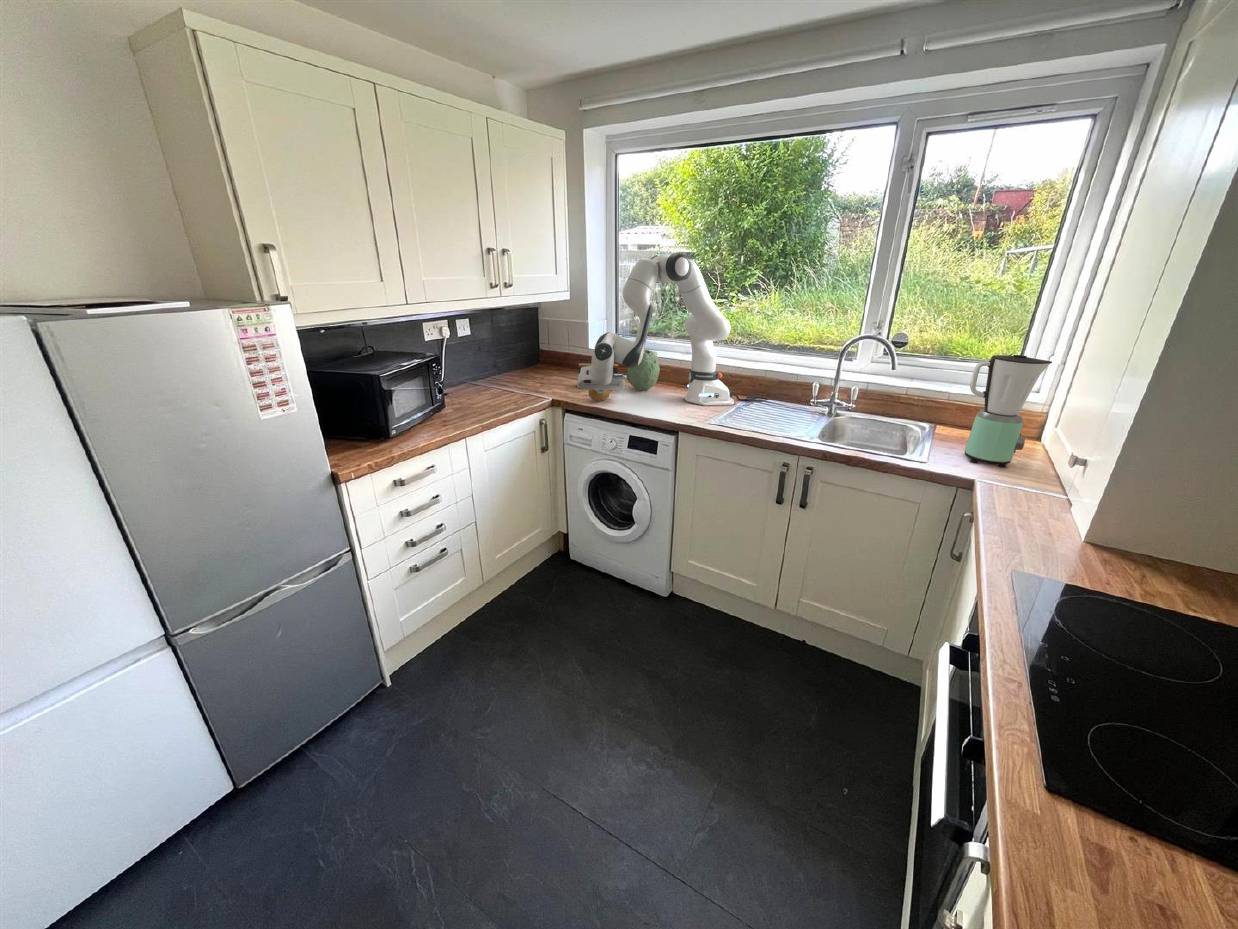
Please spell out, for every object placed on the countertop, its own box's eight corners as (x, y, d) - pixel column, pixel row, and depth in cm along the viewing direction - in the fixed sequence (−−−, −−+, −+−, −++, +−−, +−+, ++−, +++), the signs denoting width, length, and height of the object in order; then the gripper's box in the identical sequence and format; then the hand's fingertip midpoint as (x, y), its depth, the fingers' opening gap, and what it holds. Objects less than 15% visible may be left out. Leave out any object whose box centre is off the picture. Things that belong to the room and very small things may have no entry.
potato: (614, 398, 231) (614, 380, 228) (605, 405, 219) (606, 387, 216) (594, 396, 234) (594, 379, 231) (584, 403, 221) (584, 385, 218)
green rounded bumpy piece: (620, 391, 244) (621, 350, 237) (635, 384, 260) (637, 345, 253) (649, 395, 238) (652, 353, 231) (663, 388, 254) (666, 348, 247)
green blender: (1011, 459, 170) (1046, 355, 157) (1021, 472, 158) (1060, 361, 145) (946, 449, 177) (975, 349, 164) (951, 461, 166) (983, 355, 153)
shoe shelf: (617, 385, 257) (617, 364, 253) (618, 389, 248) (619, 367, 244) (578, 384, 255) (578, 363, 251) (578, 388, 247) (578, 366, 243)
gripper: (627, 368, 204) (624, 386, 217) (577, 367, 203) (577, 385, 215) (627, 381, 202) (624, 399, 214) (576, 380, 200) (577, 398, 213)
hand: (600, 392), depth 215 cm, fingers closed
